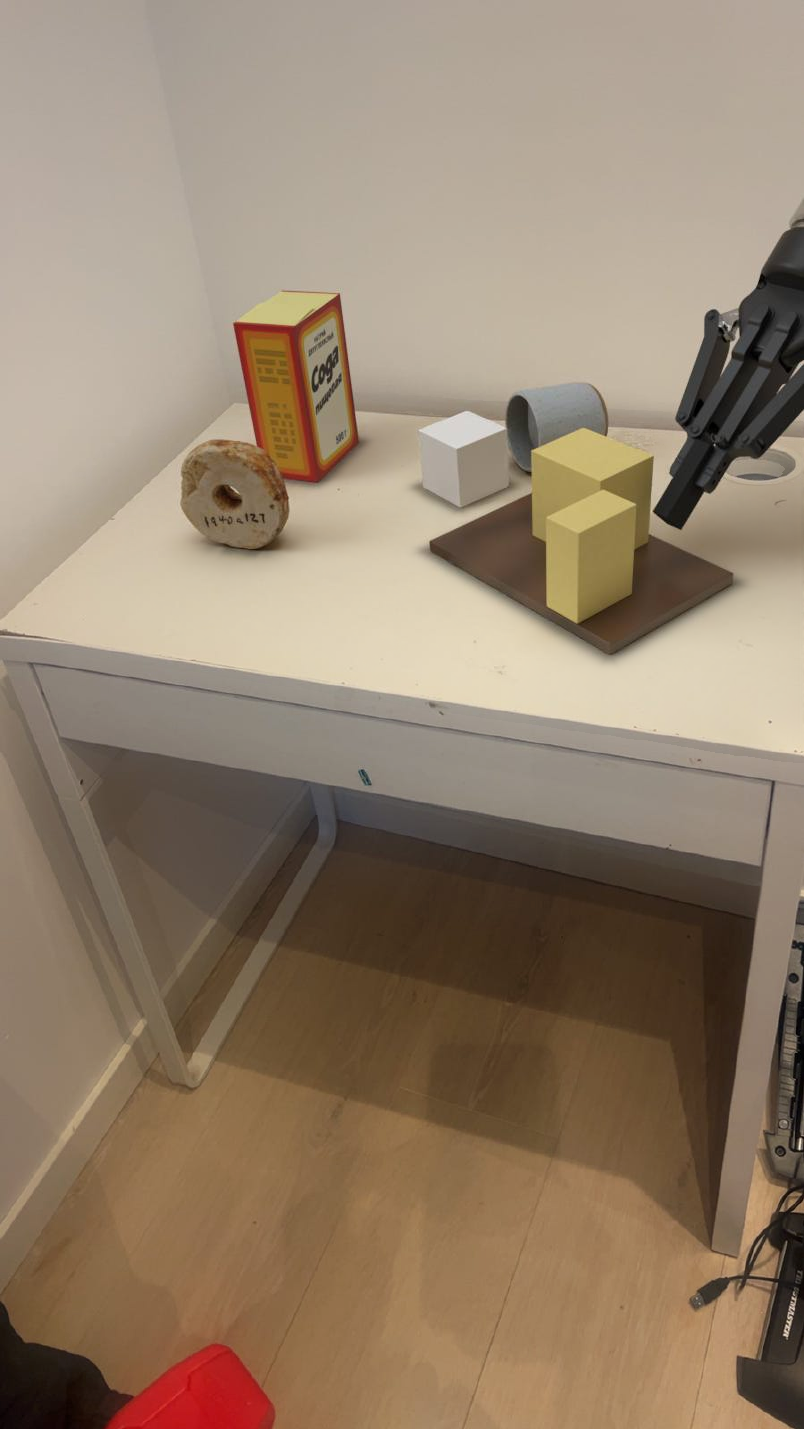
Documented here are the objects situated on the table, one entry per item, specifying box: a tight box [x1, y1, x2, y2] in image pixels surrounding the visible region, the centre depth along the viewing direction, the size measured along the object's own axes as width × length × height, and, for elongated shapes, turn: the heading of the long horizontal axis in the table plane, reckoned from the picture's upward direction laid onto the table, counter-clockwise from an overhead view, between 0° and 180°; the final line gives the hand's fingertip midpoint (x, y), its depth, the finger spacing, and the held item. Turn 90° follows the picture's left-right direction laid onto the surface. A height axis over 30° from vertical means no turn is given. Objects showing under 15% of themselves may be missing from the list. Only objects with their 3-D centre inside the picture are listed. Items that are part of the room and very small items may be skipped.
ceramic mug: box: [504, 381, 609, 473], centre depth 103 cm, size 11×8×8 cm
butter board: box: [429, 492, 735, 655], centre depth 88 cm, size 22×14×1 cm, turn 37°
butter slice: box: [546, 490, 636, 624], centre depth 80 cm, size 4×6×8 cm, turn 127°
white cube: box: [417, 410, 510, 509], centre depth 99 cm, size 6×6×6 cm
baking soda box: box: [232, 289, 360, 483], centre depth 104 cm, size 10×6×16 cm
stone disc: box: [179, 438, 291, 550], centre depth 94 cm, size 10×4×10 cm, turn 69°
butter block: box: [531, 428, 655, 550], centre depth 87 cm, size 8×6×8 cm
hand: (666, 520), depth 84 cm, fingers closed
